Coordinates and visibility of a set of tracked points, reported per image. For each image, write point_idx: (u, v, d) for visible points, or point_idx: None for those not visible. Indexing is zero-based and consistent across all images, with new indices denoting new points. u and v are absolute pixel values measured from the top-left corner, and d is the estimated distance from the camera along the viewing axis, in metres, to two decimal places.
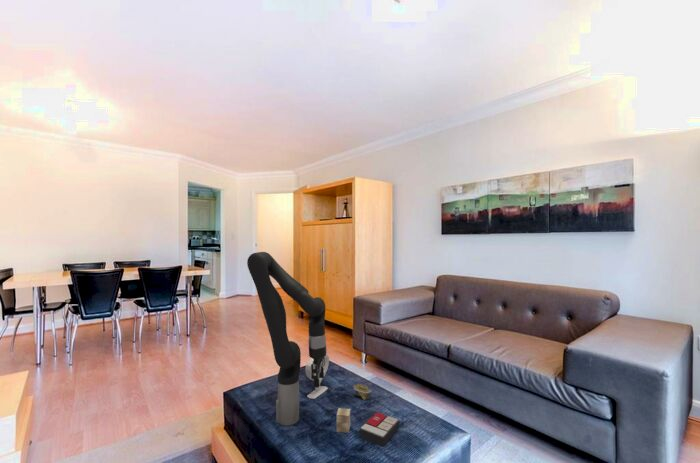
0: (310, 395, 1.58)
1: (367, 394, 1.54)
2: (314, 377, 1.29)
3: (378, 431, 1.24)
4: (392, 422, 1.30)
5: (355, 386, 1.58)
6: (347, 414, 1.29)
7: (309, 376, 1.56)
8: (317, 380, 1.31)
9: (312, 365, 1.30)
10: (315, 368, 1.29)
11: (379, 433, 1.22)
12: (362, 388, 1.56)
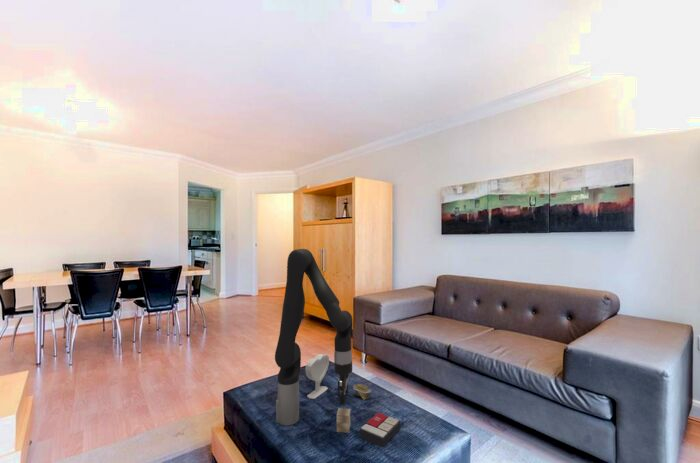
0: (310, 395, 1.58)
1: (367, 394, 1.55)
2: (341, 394, 1.25)
3: (378, 431, 1.23)
4: (393, 423, 1.29)
5: (355, 386, 1.58)
6: (347, 414, 1.29)
7: (309, 376, 1.56)
8: (343, 397, 1.26)
9: (339, 382, 1.25)
10: (342, 385, 1.25)
11: (379, 434, 1.22)
12: (362, 388, 1.56)
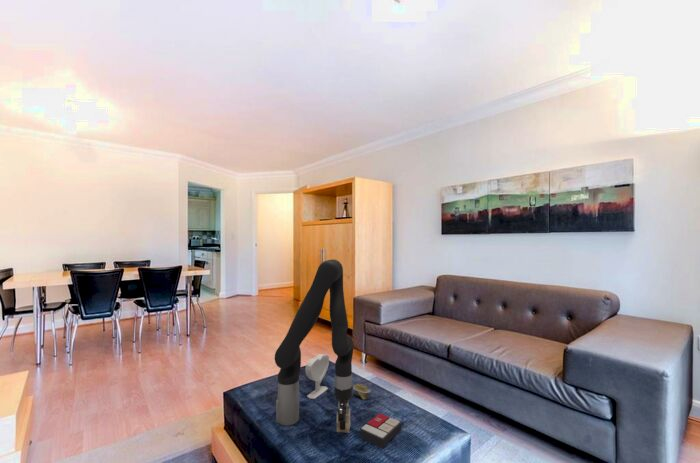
0: (310, 395, 1.58)
1: (366, 394, 1.55)
2: (341, 420, 1.26)
3: (378, 432, 1.23)
4: (393, 424, 1.29)
5: (354, 386, 1.58)
6: (347, 414, 1.30)
7: (309, 376, 1.56)
8: (343, 422, 1.28)
9: (339, 410, 1.25)
10: (342, 413, 1.25)
11: (379, 434, 1.22)
12: (361, 388, 1.56)
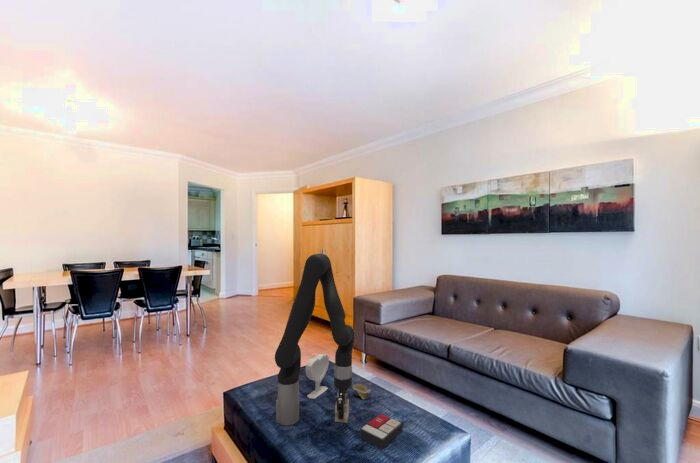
0: (310, 395, 1.58)
1: (366, 394, 1.55)
2: (340, 410, 1.26)
3: (378, 433, 1.23)
4: (394, 425, 1.28)
5: (354, 386, 1.58)
6: (346, 404, 1.30)
7: (309, 376, 1.56)
8: (342, 412, 1.28)
9: (338, 400, 1.25)
10: (341, 403, 1.25)
11: (379, 435, 1.21)
12: (361, 388, 1.57)
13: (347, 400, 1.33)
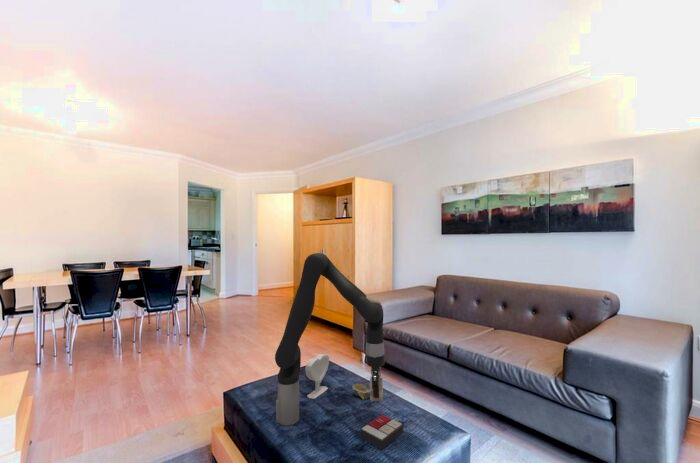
0: (310, 395, 1.58)
1: (366, 394, 1.55)
2: (375, 388, 1.24)
3: (378, 433, 1.22)
4: (395, 426, 1.27)
5: (354, 386, 1.58)
6: (380, 382, 1.28)
7: (309, 376, 1.56)
8: (377, 390, 1.26)
9: (373, 377, 1.23)
10: (376, 380, 1.23)
11: (379, 436, 1.21)
12: (361, 388, 1.57)
13: (381, 378, 1.31)
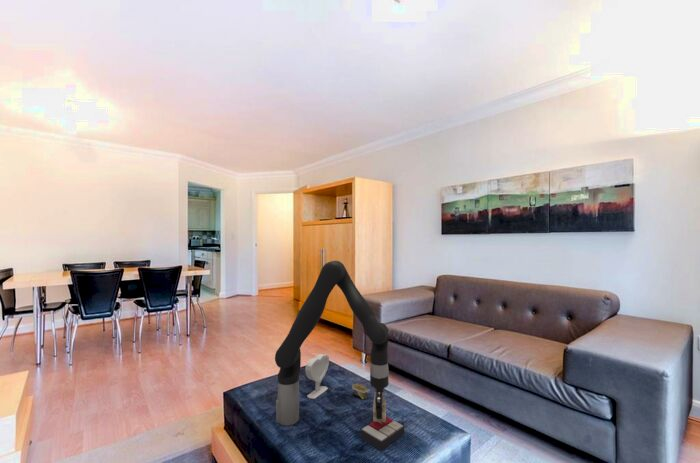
0: (310, 395, 1.58)
1: (365, 393, 1.55)
2: (378, 409, 1.24)
3: (378, 434, 1.22)
4: (396, 427, 1.26)
5: (353, 385, 1.59)
6: (384, 403, 1.27)
7: (309, 376, 1.56)
8: (380, 411, 1.26)
9: (376, 399, 1.23)
10: (380, 402, 1.23)
11: (378, 437, 1.20)
12: None
13: (384, 399, 1.31)
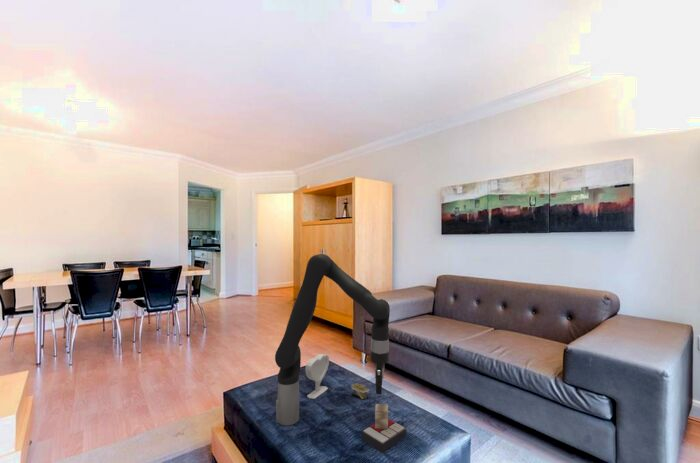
0: (310, 395, 1.58)
1: (365, 393, 1.55)
2: (378, 383, 1.22)
3: (379, 436, 1.21)
4: (397, 429, 1.25)
5: (353, 385, 1.59)
6: (386, 410, 1.26)
7: (309, 376, 1.56)
8: (380, 387, 1.24)
9: (377, 371, 1.23)
10: (380, 374, 1.22)
11: (380, 439, 1.19)
12: (360, 387, 1.57)
13: (386, 406, 1.29)
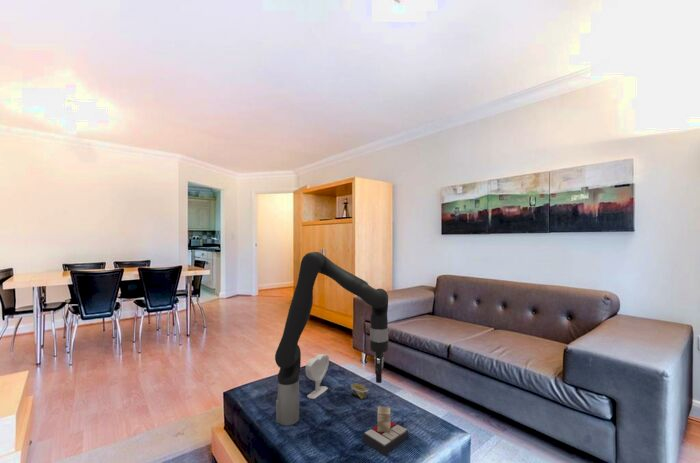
0: (310, 395, 1.58)
1: (364, 393, 1.55)
2: (378, 372, 1.23)
3: (381, 439, 1.19)
4: (399, 431, 1.24)
5: (352, 385, 1.59)
6: (388, 413, 1.24)
7: (309, 376, 1.56)
8: (380, 375, 1.24)
9: (376, 359, 1.23)
10: (379, 362, 1.23)
11: (382, 441, 1.18)
12: None
13: (388, 408, 1.27)
